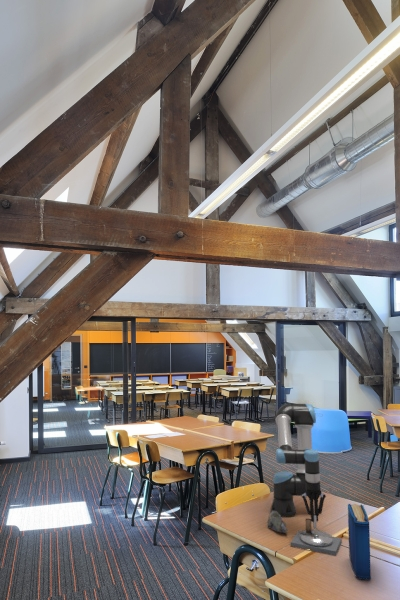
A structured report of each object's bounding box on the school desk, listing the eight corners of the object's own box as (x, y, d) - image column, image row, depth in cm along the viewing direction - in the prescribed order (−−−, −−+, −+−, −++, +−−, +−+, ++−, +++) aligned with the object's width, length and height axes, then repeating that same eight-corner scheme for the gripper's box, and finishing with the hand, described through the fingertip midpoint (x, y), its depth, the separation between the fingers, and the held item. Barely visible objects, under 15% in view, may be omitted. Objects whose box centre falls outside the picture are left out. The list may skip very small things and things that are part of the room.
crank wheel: (293, 536, 226) (293, 520, 227) (318, 531, 233) (318, 516, 234) (313, 548, 212) (313, 532, 213) (339, 543, 218) (339, 527, 219)
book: (373, 582, 186) (370, 520, 188) (355, 580, 187) (353, 519, 190) (364, 559, 207) (362, 503, 209) (348, 557, 208) (347, 502, 211)
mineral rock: (287, 537, 231) (287, 516, 232) (267, 535, 233) (267, 515, 234) (286, 527, 244) (286, 508, 245) (267, 526, 245) (266, 507, 246)
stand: (298, 534, 235) (298, 529, 235) (341, 542, 225) (341, 537, 225) (290, 546, 219) (290, 541, 220) (335, 555, 210) (335, 550, 210)
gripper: (322, 478, 236) (324, 524, 233) (298, 479, 235) (300, 525, 232) (327, 482, 228) (329, 530, 226) (303, 483, 227) (305, 531, 225)
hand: (314, 527), depth 229 cm, fingers closed
